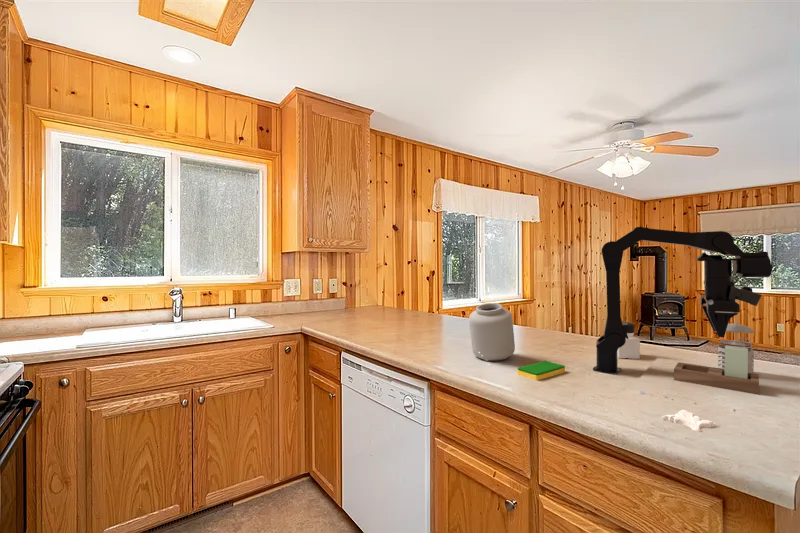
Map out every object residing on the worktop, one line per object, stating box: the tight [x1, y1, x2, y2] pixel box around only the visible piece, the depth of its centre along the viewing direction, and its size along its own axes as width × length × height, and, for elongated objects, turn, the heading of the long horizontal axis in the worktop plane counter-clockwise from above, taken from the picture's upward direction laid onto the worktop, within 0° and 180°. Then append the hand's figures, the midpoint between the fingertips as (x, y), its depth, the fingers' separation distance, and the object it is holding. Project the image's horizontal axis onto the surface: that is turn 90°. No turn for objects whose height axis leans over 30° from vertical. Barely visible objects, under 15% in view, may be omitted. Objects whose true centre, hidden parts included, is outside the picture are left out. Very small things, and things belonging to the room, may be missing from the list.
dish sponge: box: [517, 360, 566, 381], centre depth 114 cm, size 7×14×2 cm, turn 124°
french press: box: [717, 299, 755, 373], centre depth 108 cm, size 10×12×25 cm
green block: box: [725, 345, 749, 379], centre depth 98 cm, size 4×4×10 cm
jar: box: [468, 287, 516, 365], centre depth 131 cm, size 19×15×25 cm
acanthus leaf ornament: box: [661, 409, 720, 433], centre depth 79 cm, size 8×7×2 cm
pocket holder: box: [673, 361, 760, 396], centre depth 101 cm, size 9×17×4 cm, turn 47°
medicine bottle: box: [617, 321, 641, 360], centre depth 132 cm, size 7×7×12 cm
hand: (718, 334), depth 103 cm, fingers open, 9 cm apart
